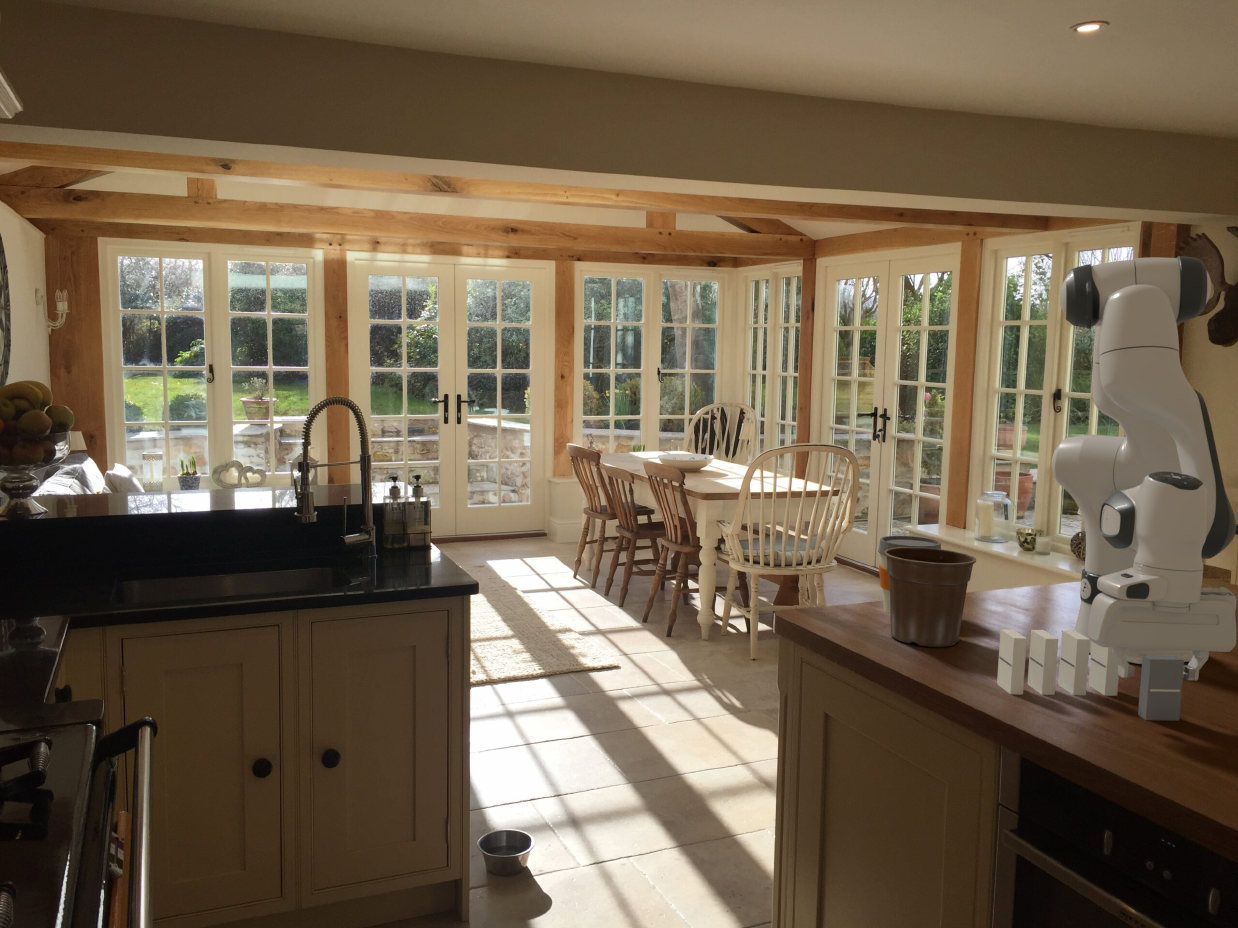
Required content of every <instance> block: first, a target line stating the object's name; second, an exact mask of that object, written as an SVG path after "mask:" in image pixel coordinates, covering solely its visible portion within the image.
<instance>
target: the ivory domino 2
mask: <svg viewBox="0 0 1238 928" xmlns="http://www.w3.org/2000/svg"><path fill="white" fill-rule="evenodd" d="M1029 642H1030V644H1029V657H1028V658H1029V659H1028V672H1027V685H1028V686H1029V687H1031V688H1032V689H1033V690H1034V691H1036V692H1038V693H1039V694H1040V695H1041V696H1043V695H1044V696H1048V695H1049V696H1054V695H1055V689H1056V677H1057V676H1056V675H1057V663H1058V662H1057V661H1058V649H1059V638H1057V637H1056V636H1054V635H1052V634H1051V633H1049V632H1048V631H1045V630H1044V629H1031V631H1030V641H1029Z"/></svg>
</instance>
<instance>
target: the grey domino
mask: <svg viewBox="0 0 1238 928" xmlns="http://www.w3.org/2000/svg"><path fill="white" fill-rule="evenodd" d="M1184 665H1185V662H1184V660H1182V659H1180V658H1178V657H1172V656H1143V660H1142V664H1141V673H1140V674H1141V676H1140V686H1139V699H1138V710H1137V711H1138V712H1137V715H1138V717H1140V718H1142V719H1143V720H1145V721H1177V722H1178V721H1180V714H1181V703H1182V693H1183V692H1182V691H1183V680H1184V678H1183V670H1184Z"/></svg>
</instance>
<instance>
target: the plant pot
mask: <svg viewBox="0 0 1238 928" xmlns="http://www.w3.org/2000/svg"><path fill="white" fill-rule="evenodd" d="M884 554H885V555H886V556H887V572H888V574H889V583H890V614H889V615H890V616H889V617H890V636H891V637H892V638H894V639H895V640H897V641H899V642H903V643H906V644H911V643H915V644H917V645H918V646H920V647H930V648H946V647H953V646H955V645H956V643H958V642H959V638H960V633H961V632H960V631H961V626H962V619H963V613H964V608H965V602H966V601H965V600H966V595H967V589H968V584H969V582H970V581H971V578H972V573H973V572H972V571H973V566H974V564H975V563H976V562H977V558H976V557H975V556H974V555H970V554H968V553H964V552H959V551H954V550H950V549H949V550H948V549H942V548H941V549H935V548H922V547H897V548H890V549H887V550H885V551H884Z"/></svg>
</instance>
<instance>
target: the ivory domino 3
mask: <svg viewBox="0 0 1238 928" xmlns="http://www.w3.org/2000/svg"><path fill="white" fill-rule="evenodd" d="M1060 639H1061V640H1060V652H1059V653H1060V654H1059V665H1058V666H1059V667H1058V678H1057V679H1058V681H1057V685H1058V686H1060V687H1061V688H1062V689H1063V690H1065V691H1066V692H1068V693H1070V694H1071V695H1072V696H1087V685H1088V684H1087V683H1088V682H1087V681H1088V674H1089V673H1088V669H1089V659H1090V653H1089V647H1090V639H1088V638H1087V637H1085V636H1083V635H1081V634H1080V633H1078V632H1076V631H1074V630H1070V629H1069V630H1067V629H1066V630H1064V629H1063V630H1061V638H1060Z"/></svg>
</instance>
